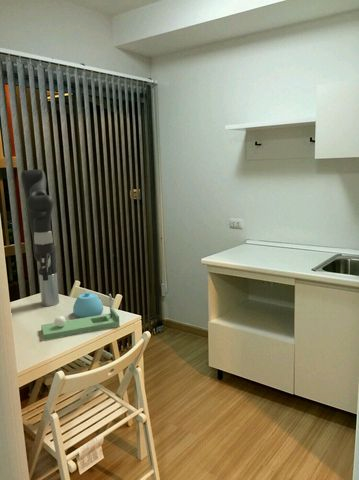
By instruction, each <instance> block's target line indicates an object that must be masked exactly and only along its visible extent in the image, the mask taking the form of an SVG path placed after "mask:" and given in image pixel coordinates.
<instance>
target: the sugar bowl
mask: <svg viewBox="0 0 359 480" xmlns="http://www.w3.org/2000/svg"><path fill="white" fill-rule="evenodd" d="M72 309H73V310H72V312H73V315H75V316H76V317H77V318H78V319H79V318H85V317H91V316H97V315H102V312H103V311H104V306H103V302H102V300H101V299H100V297H99V296H98V295H97V294H96V293H94V292H93V293H92V292H90V291H85V292H84V293H81V294H79V295H78V296H77V298H76V300H75V301H74V304H73V307H72Z"/></svg>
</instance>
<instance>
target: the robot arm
mask: <svg viewBox="0 0 359 480" xmlns="http://www.w3.org/2000/svg"><path fill="white" fill-rule="evenodd" d="M20 176H21V183H22V188H23V192H24V195H25V200H26V207H27V215H28V220H29V221H28V222H29V227H30V231H31V237H32V248H33V256H34V259H35V261H36V262H39V263H40V267H39V269H38V277H39V286H40V287H39V289H40V300H41V305H42V306H44V307H50V306H51V307H52V306H55V305H57V304H60V299H59V297H60V295H59V285H58V284H59V283H58V274H57V271H58V270H57V258H56V257H57V255H56V253H57V249H56V246H55V244H54V239H53V238H54V237H53V233H52V225H51V223H52V222H51V221H52V213H53V208H54V200H53V197H52V196H50V194H49V195H48V194H47V177H46V173H45V171H44V170H42V169H41V168H40V169H28V170H26V169H25V170H23V171H21V175H20Z"/></svg>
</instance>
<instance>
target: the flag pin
mask: <svg viewBox="0 0 359 480" xmlns="http://www.w3.org/2000/svg"><path fill="white" fill-rule="evenodd" d="M108 296H109V298H108V299H109V313H110V318H112V310H111V308H112V301H113V296H112V294H111V293H108Z"/></svg>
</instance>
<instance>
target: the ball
mask: <svg viewBox="0 0 359 480" xmlns="http://www.w3.org/2000/svg"><path fill="white" fill-rule="evenodd" d="M66 321H67V319H66V318H65V316H63V315H58V316H57V317H56V318H55V319H54V323H55V325H56V326H58V327H62V326H64V325H65V323H66Z"/></svg>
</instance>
